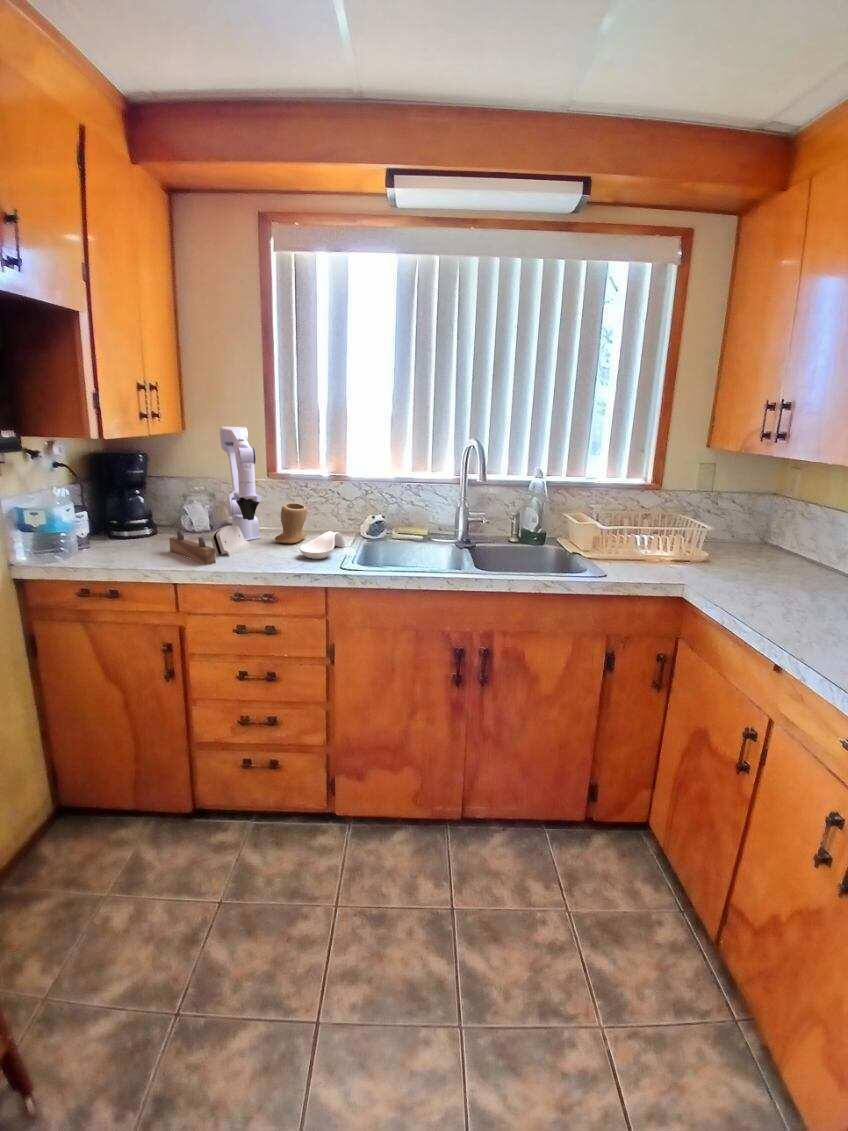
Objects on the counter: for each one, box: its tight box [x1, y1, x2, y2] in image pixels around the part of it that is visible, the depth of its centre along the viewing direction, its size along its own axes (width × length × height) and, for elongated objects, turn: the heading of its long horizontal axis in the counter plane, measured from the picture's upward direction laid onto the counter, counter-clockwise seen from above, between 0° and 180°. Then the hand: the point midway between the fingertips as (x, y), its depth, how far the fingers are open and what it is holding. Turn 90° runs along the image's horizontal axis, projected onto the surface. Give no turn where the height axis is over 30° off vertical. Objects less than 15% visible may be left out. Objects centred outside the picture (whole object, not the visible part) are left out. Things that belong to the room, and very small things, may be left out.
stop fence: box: [168, 530, 217, 565], centre depth 190 cm, size 3×24×8 cm, turn 50°
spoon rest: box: [299, 530, 346, 560], centre depth 202 cm, size 24×12×7 cm, turn 163°
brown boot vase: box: [274, 502, 308, 544], centre depth 218 cm, size 15×12×15 cm
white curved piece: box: [210, 525, 251, 557], centre depth 201 cm, size 17×5×10 cm, turn 171°
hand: (248, 519), depth 205 cm, fingers open, 2 cm apart
